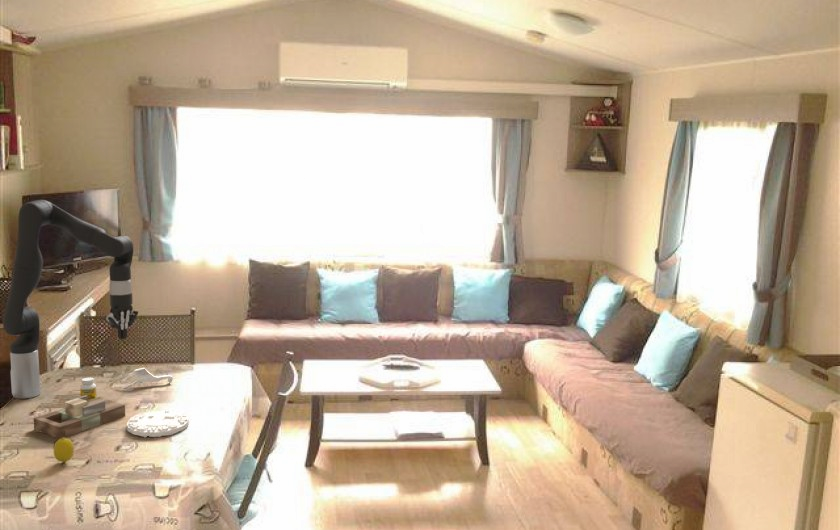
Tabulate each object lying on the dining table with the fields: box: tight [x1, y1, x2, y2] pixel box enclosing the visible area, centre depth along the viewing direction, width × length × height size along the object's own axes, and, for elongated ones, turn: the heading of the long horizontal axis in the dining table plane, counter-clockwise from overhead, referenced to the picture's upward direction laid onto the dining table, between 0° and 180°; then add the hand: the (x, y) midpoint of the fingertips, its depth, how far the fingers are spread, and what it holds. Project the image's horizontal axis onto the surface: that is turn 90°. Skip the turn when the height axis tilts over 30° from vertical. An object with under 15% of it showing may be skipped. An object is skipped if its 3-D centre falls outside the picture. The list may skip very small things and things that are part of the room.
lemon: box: [53, 437, 75, 464], centre depth 225 cm, size 6×6×8 cm
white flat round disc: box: [126, 409, 190, 439], centre depth 255 cm, size 20×20×3 cm
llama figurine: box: [120, 367, 173, 389], centre depth 295 cm, size 2×11×18 cm
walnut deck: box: [33, 395, 126, 440], centre depth 256 cm, size 14×25×7 cm, turn 149°
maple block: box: [64, 397, 88, 417], centre depth 254 cm, size 5×5×4 cm
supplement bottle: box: [79, 377, 98, 400], centre depth 273 cm, size 5×5×10 cm
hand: (122, 338), depth 270 cm, fingers closed
